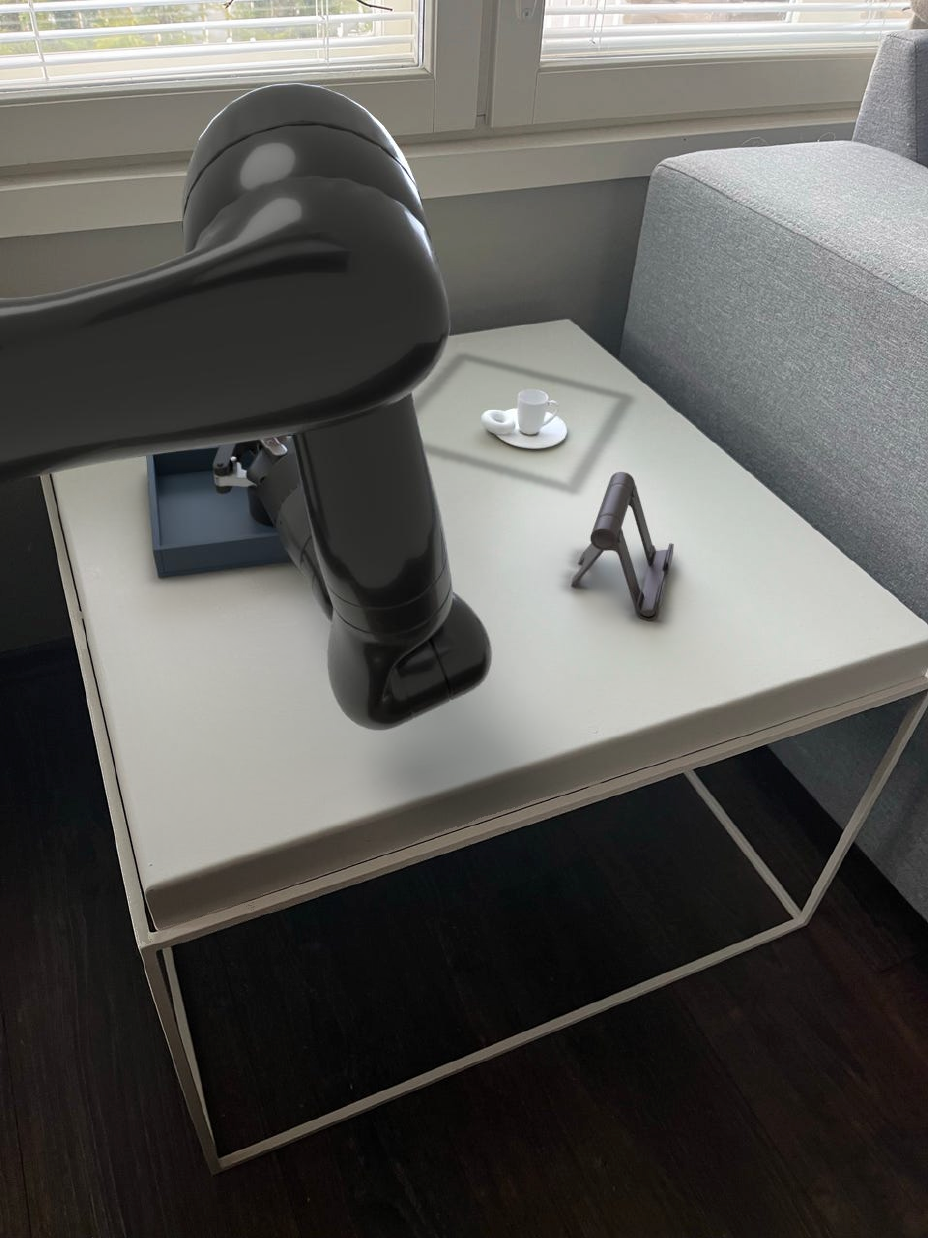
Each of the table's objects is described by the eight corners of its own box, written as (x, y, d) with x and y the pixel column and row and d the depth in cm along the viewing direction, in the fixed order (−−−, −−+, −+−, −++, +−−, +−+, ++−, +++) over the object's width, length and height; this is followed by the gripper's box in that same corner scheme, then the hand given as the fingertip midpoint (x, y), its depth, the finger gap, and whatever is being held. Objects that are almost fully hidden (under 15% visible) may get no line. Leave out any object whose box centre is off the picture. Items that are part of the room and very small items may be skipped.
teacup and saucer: (472, 438, 101) (475, 403, 98) (500, 403, 107) (503, 369, 104) (552, 459, 99) (557, 424, 96) (576, 423, 104) (581, 389, 102)
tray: (158, 579, 82) (152, 550, 80) (151, 478, 93) (145, 450, 90) (381, 551, 86) (381, 523, 84) (350, 458, 97) (349, 431, 95)
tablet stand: (656, 625, 81) (676, 546, 76) (564, 603, 83) (578, 524, 77) (670, 562, 88) (690, 486, 82) (585, 543, 89) (599, 466, 83)
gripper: (411, 458, 74) (334, 355, 85) (230, 497, 69) (174, 381, 80) (409, 537, 79) (337, 429, 90) (241, 577, 74) (187, 458, 85)
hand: (260, 407), depth 85 cm, fingers closed on brush, 2 cm apart
